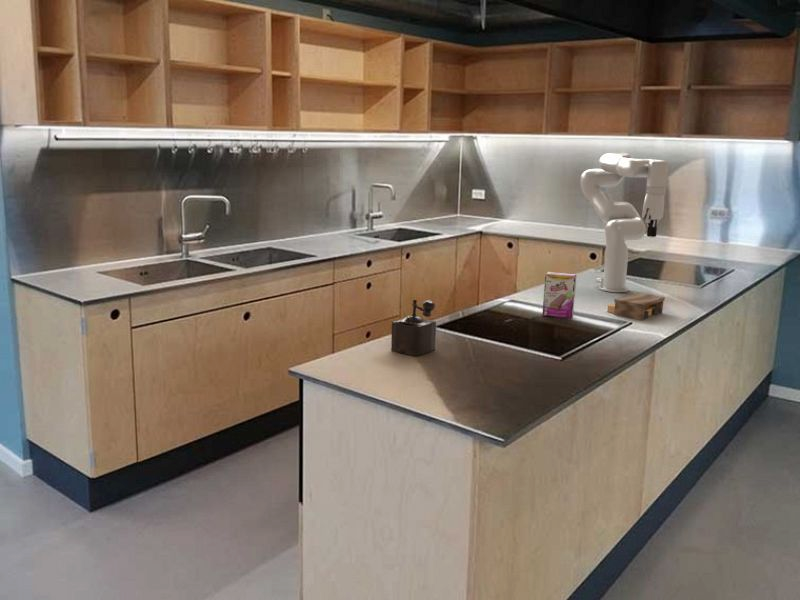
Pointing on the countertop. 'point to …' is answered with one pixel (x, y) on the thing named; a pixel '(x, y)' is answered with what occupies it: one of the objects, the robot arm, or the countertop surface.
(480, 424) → the countertop surface
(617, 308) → the walnut shelf
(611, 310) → the orange cover
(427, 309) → the black manual coffee grinder
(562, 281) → the candy bar box
